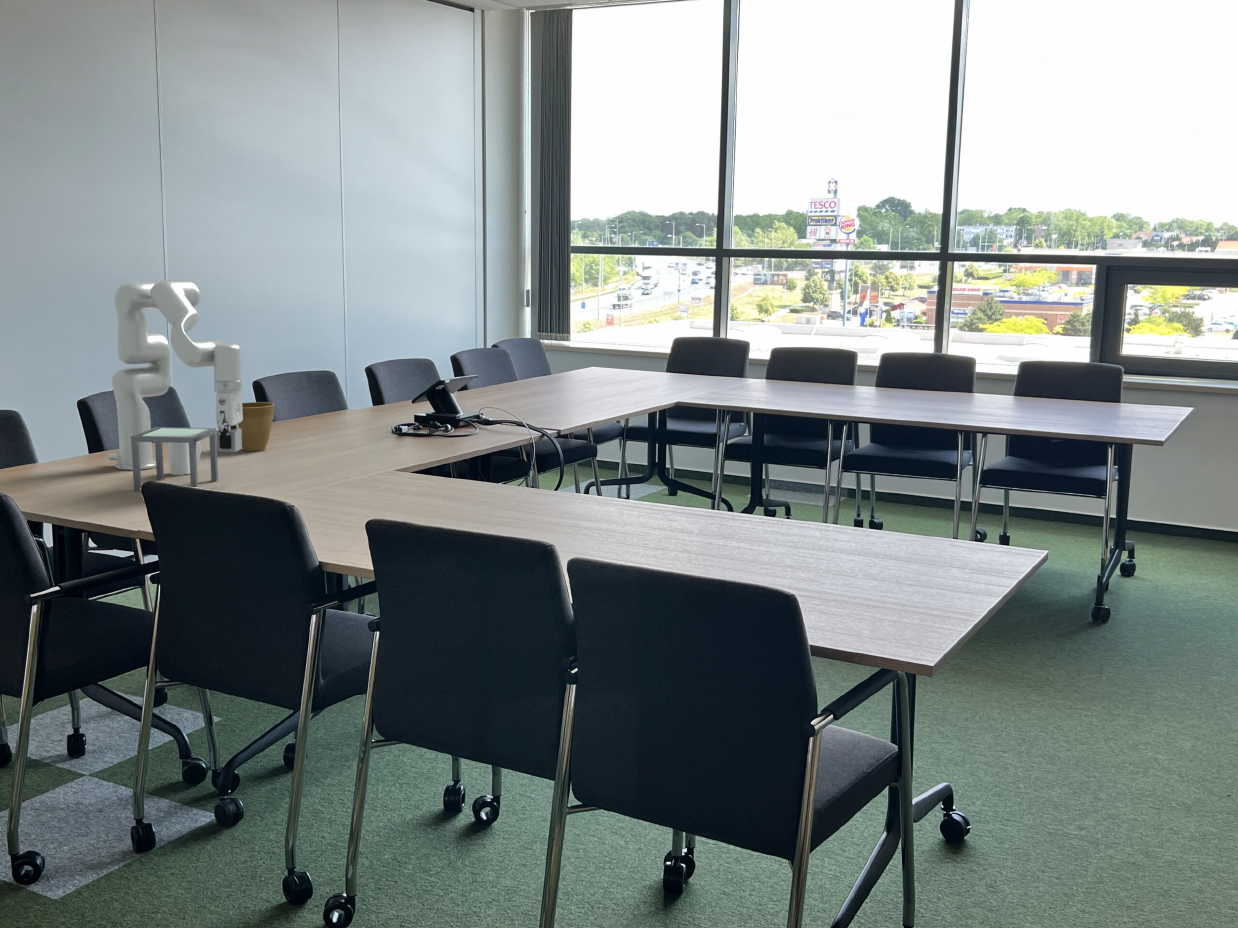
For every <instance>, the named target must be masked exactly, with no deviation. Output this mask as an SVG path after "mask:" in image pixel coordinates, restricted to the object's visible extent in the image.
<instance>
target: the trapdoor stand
mask: <svg viewBox="0 0 1238 928" xmlns="http://www.w3.org/2000/svg"><path fill="white" fill-rule="evenodd" d="M161 428H175V429H208V430H206V431H203V432H201V433H199V434H196V435H194V436H191V437H171V436H142V435H145V434H147V433H150V432H153V431H155V430H158V429H161ZM216 431H217V428H211V427H171V426H170V427H168V426H167V427H166V426H156V427H153V428H151V429H150V430H147V431H144V432H142V433H139V434H136V435H134V436H131V448H132V464H133V470H132V480H133V491H134V492H141V491H140V487H141V488H142V476H141V475H142V474H141V469H140V457H139V442H152V443H154V447H155V449H154V451H155V461H156V467H155V468H156V480H157V481H162V480H161V479H163V480H164V479H165V476H164V475H165V470H164V454H163V452H164V451H163V443H168V442H169V443H189V460H190V474H189V477H190V488H191V487H198V488H199V480H198V463H197V456H196V455H197V445H196V442H197V441H199V442H200V441H202V440H204V439H206V438H209V454H210V455H209V458H210V477H211V482H217V480H218V481H219V467H218V451H217V437H216Z"/></svg>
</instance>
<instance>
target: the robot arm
mask: <svg viewBox="0 0 1238 928" xmlns="http://www.w3.org/2000/svg"><path fill="white" fill-rule="evenodd" d="M200 301H201V293H200V290H199V288H198V286H197V285H196V284H195V283H194V282H192V281H190V280H186V279H185V280H183V279H182V280H161V281H133V282H132V281H131V282H126V283H124V284H121V285H119V286H118V288H117V289H116V291H115V295H114V307H115V311H116V316H117V355H118V359H119V360H120V362H122V363H123V364H126V365H144V364H145V365H146V364H148V366H142V367H141V366H137V367H127V368H122V369H119V370H117V371H116V372H115V373H114V374H113V376H112V377H111V378H112V379H111V387H112V391H113V394H114V399H115V403H116V413H117V414H116V415H117V428H118V429H117V430H118V443H119V444H118V446H119V452H118V453H108V455H107V456H108V457H107V458H108V460H109V461H116V463H115V464H114V465H115V469H118V470H124V471H125V470H126V471H128V470H129V471H133V464H132V448H131V436H134V435H136V434H139V433H142V432H144V431H147V430H150V429H152V428H151V427H152V426H151V414H150V413H151V412H150V409H149V407H148V405H147V404H146V403H145V401H144V400H143V398H148V397H156V396H162V395H165V394H166V393H167V392H168V391H169V387H170V382H171V347H172V349H173V352H174V353H175V354H176V356H177V357H178V358H179V359H180V361H182V363H184V364H185V365H186V366H188V367H190V368H206V367H213V379H214V382H213V383H214V385H213V386H214V387H213V388H214V389H213V390H214V392H216V396H215V397H216V398H215V421H216V424H217V429H218V430H219V436H220V448H221V449H231V435H230V428H237V429H239V428H238V424H239V423H240V422H242V420H243V410H242V403H243V399H242V398H243V397H242V393H241V392H242V364H241V363H242V352H241V347H240V345H238V344H236V343H228V342H225V341H224V340H218V339H216V340H198V341H193V340H191V339H190V337H189V336H188V335H187V333H188V332H189V331H191V330H193V328H195V327H196V326H197V324H198V322H199V320H200V319H199V318H200V315H199V312H198V311H197V309H195V307H197V306H198V305H199V303H200ZM146 310H147V311H148V310H150V311H152V310H154V311H155V310H156V311H157V310H159V311H160V313H161V314H162V315H163V317H164V318H165V319H166V321H167V322H168V323H169V324H170V326H171V330H170V335H169V336H170V343H171V346H170V343H169V340H168V339H167V337H166V336H165V335H163V334H161V333H160V332H159V333H158V332H148V319H147V316H146V315H145V314H144V312H143V311H146ZM226 428H227V430H226ZM152 443H153V442H139V457H140V470H148V469H153V468H156V459H155V460H154V459H153V446H152Z"/></svg>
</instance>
